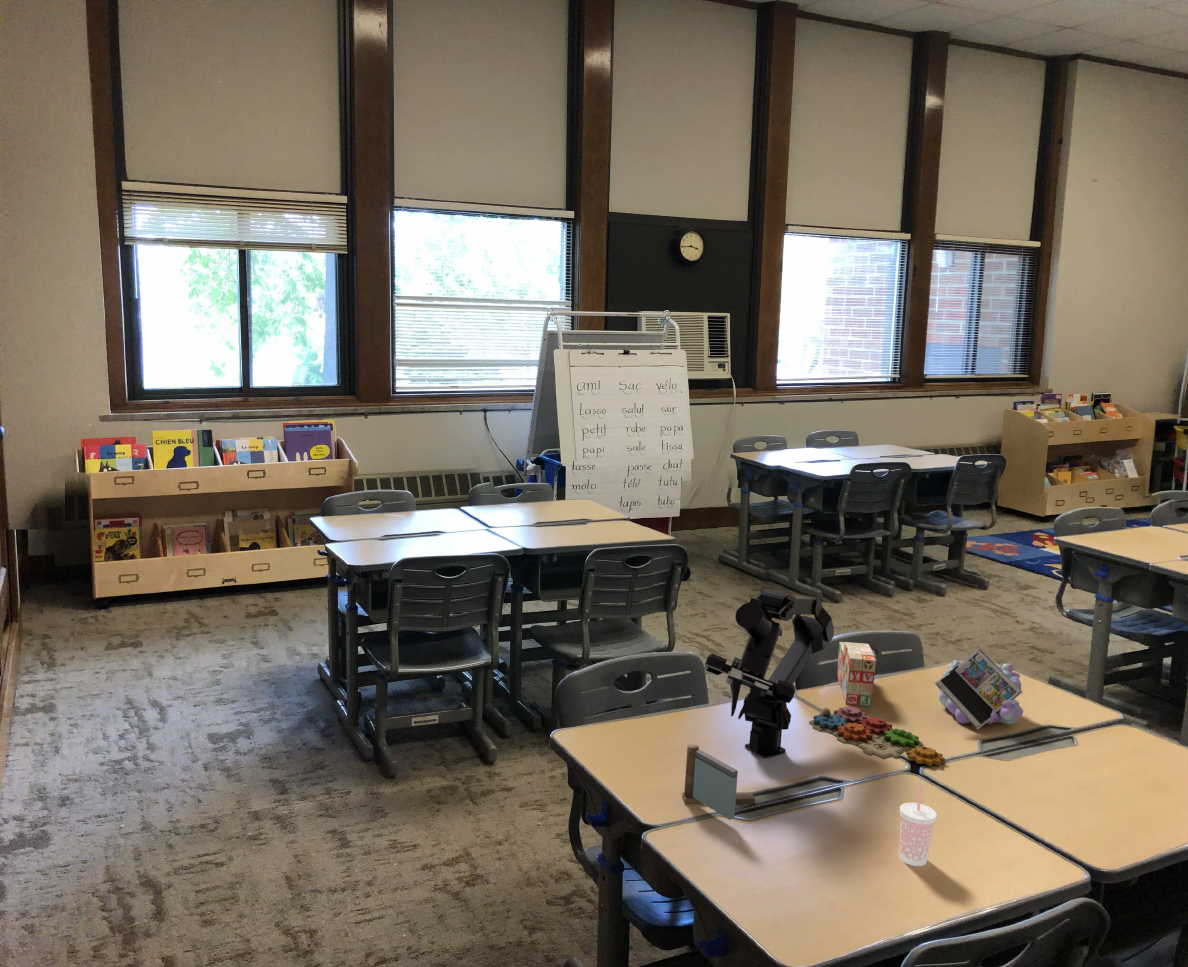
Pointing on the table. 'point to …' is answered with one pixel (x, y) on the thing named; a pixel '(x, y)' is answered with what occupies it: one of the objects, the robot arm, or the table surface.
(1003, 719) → the bubbly comic picture frame
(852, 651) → the stack of blocks
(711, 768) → the panel
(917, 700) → the table surface
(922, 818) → the beverage cup
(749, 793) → the brown l-shaped piece
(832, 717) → the gear puzzle
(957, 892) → the table surface
